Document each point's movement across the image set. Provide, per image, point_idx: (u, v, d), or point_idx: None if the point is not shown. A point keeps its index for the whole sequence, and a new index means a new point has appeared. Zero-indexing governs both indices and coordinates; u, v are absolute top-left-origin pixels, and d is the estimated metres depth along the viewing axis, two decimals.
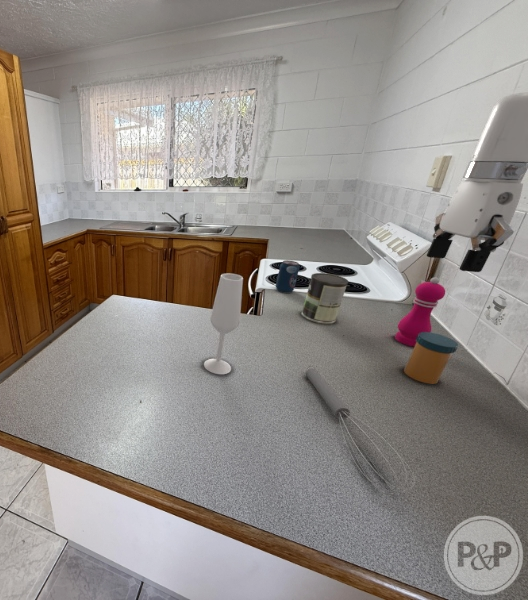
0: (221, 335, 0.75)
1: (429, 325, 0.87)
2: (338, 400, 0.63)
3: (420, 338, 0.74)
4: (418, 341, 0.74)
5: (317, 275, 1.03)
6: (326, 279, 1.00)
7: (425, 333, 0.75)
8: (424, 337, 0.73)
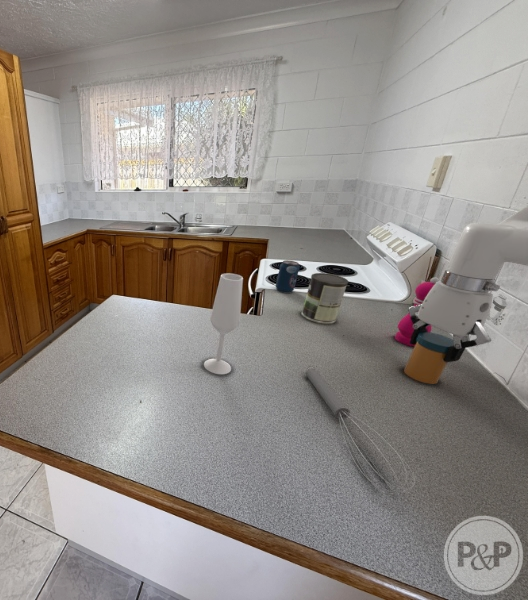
0: (221, 335, 0.75)
1: (429, 325, 0.87)
2: (338, 400, 0.63)
3: (420, 338, 0.74)
4: (418, 341, 0.74)
5: (317, 275, 1.03)
6: (326, 279, 1.00)
7: (425, 333, 0.75)
8: (424, 337, 0.73)
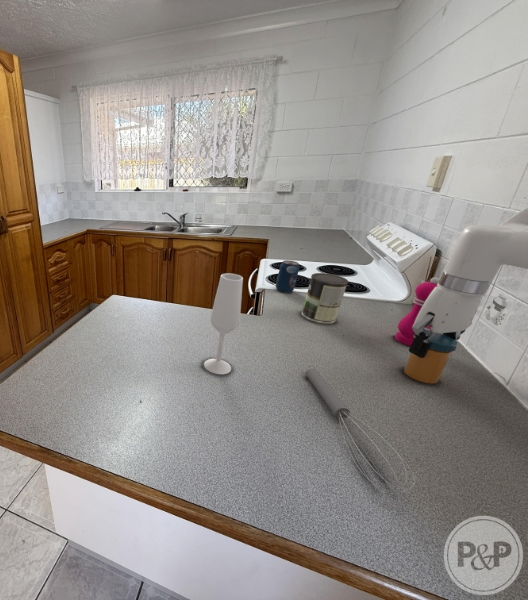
0: (221, 335, 0.75)
1: None
2: (338, 400, 0.63)
3: (446, 346, 0.70)
4: (444, 350, 0.70)
5: (317, 275, 1.03)
6: (326, 279, 1.00)
7: None
8: (444, 343, 0.70)
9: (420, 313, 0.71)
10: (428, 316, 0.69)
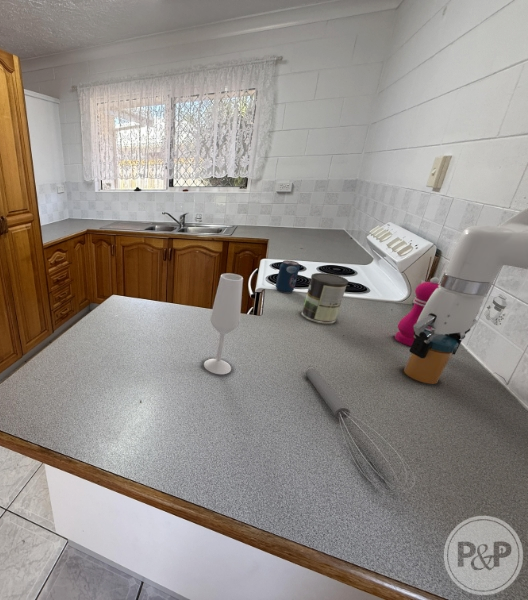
0: (221, 335, 0.75)
1: None
2: (338, 400, 0.63)
3: (448, 347, 0.70)
4: (445, 350, 0.70)
5: (317, 275, 1.03)
6: (326, 279, 1.00)
7: None
8: (445, 344, 0.70)
9: (422, 314, 0.71)
10: (430, 316, 0.69)
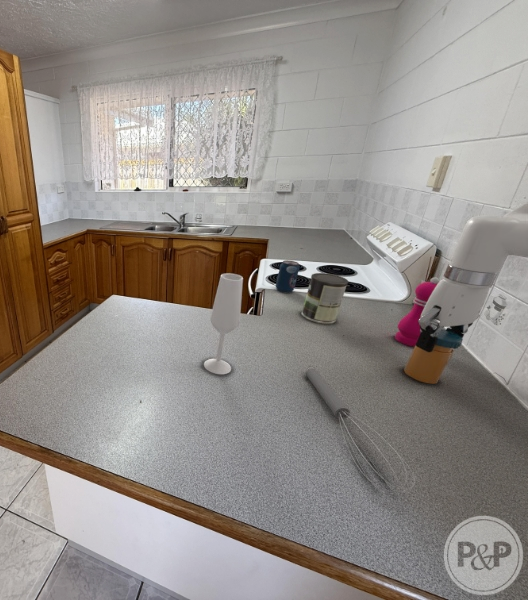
0: (221, 335, 0.75)
1: None
2: (338, 400, 0.63)
3: None
4: None
5: (317, 275, 1.03)
6: (326, 279, 1.00)
7: (455, 339, 0.70)
8: (455, 335, 0.71)
9: (426, 307, 0.70)
10: (434, 309, 0.69)
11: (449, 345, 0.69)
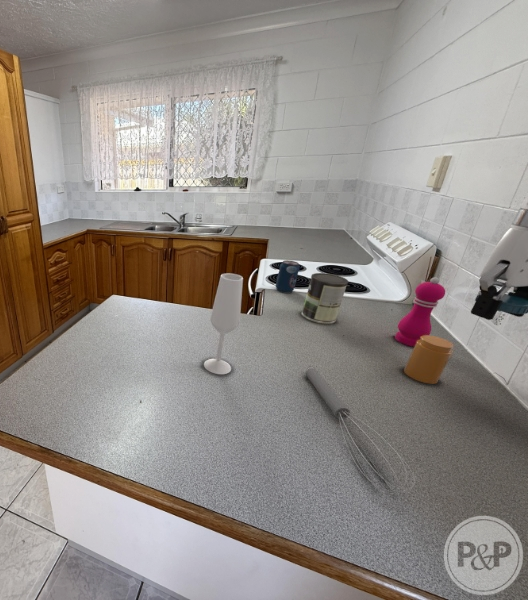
0: (221, 335, 0.75)
1: (429, 325, 0.87)
2: (338, 400, 0.63)
3: None
4: None
5: (317, 275, 1.03)
6: (326, 279, 1.00)
7: (524, 303, 0.57)
8: (522, 299, 0.58)
9: (488, 263, 0.57)
10: (500, 265, 0.55)
11: (516, 310, 0.56)
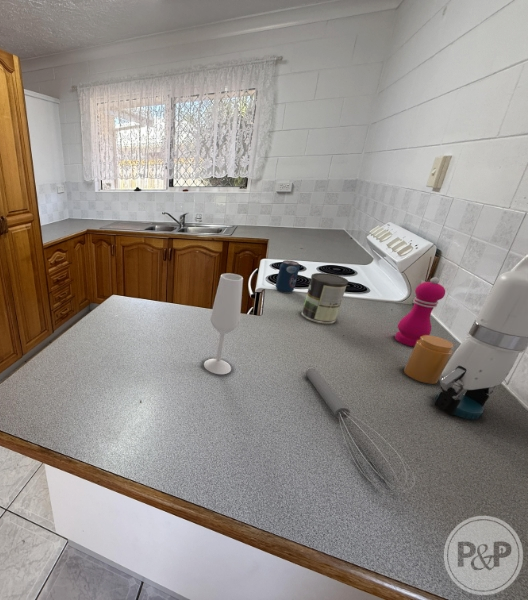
0: (221, 335, 0.75)
1: (429, 325, 0.87)
2: (338, 400, 0.63)
3: None
4: None
5: (317, 275, 1.03)
6: (326, 279, 1.00)
7: (476, 410, 0.64)
8: (475, 403, 0.65)
9: (448, 366, 0.64)
10: (458, 370, 0.62)
11: (469, 416, 0.63)
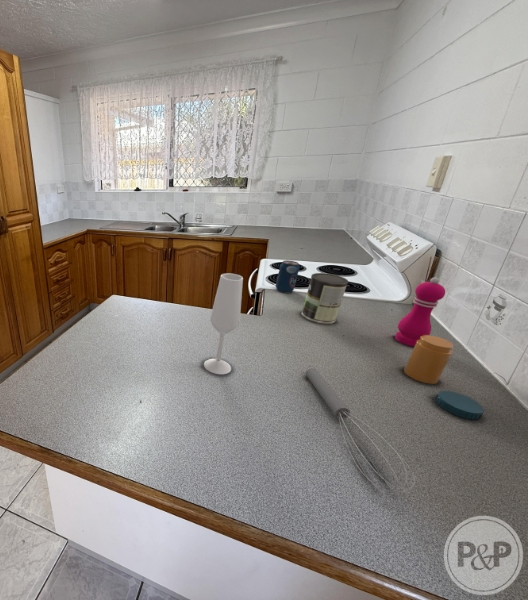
0: (221, 335, 0.75)
1: (429, 325, 0.87)
2: (338, 400, 0.63)
3: None
4: None
5: (317, 275, 1.03)
6: (326, 279, 1.00)
7: (476, 410, 0.64)
8: (475, 403, 0.65)
9: None
10: None
11: (469, 416, 0.63)
